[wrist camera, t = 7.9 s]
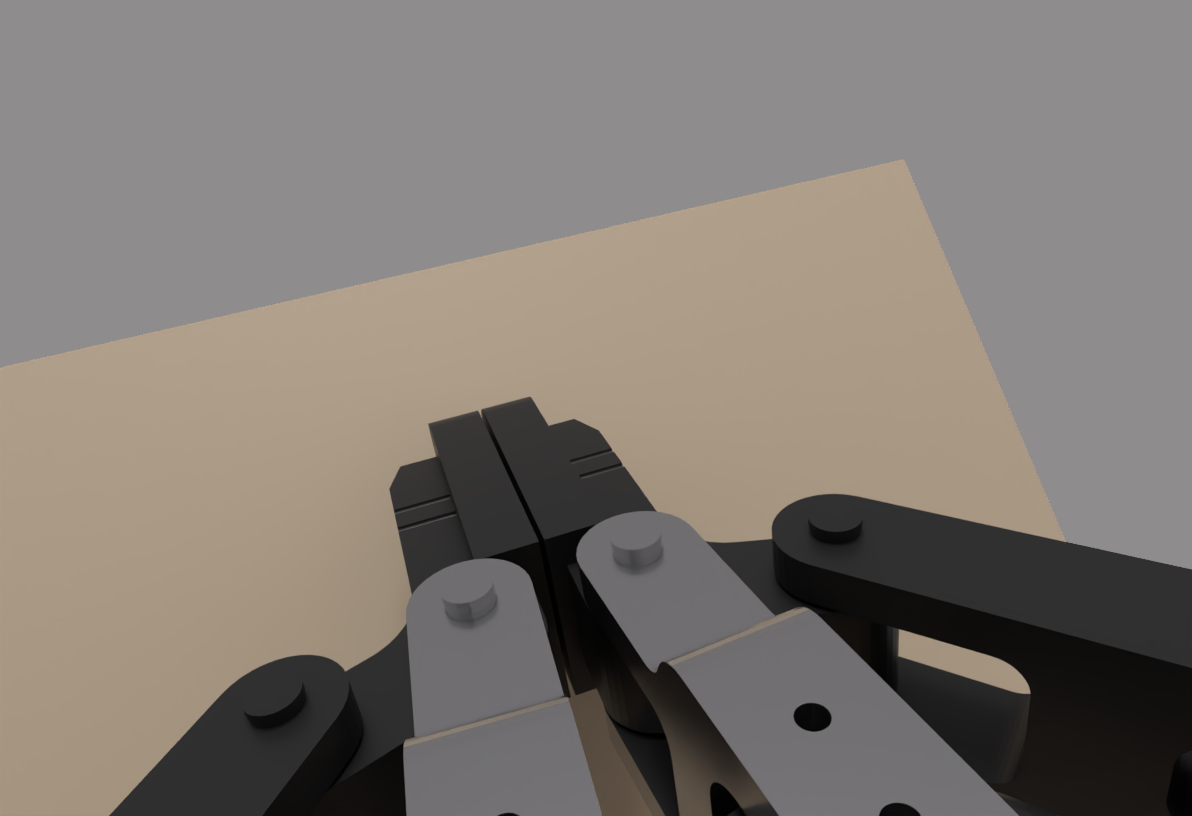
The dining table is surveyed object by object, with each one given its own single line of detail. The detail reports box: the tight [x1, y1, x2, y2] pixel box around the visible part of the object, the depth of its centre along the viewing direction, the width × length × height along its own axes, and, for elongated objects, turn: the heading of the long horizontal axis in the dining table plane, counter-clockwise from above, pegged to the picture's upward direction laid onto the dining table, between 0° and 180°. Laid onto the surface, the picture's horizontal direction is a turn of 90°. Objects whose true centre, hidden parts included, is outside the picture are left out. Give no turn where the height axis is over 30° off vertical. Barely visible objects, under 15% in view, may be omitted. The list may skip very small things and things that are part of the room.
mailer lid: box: [0, 160, 1066, 816], centre depth 13 cm, size 17×12×1 cm
